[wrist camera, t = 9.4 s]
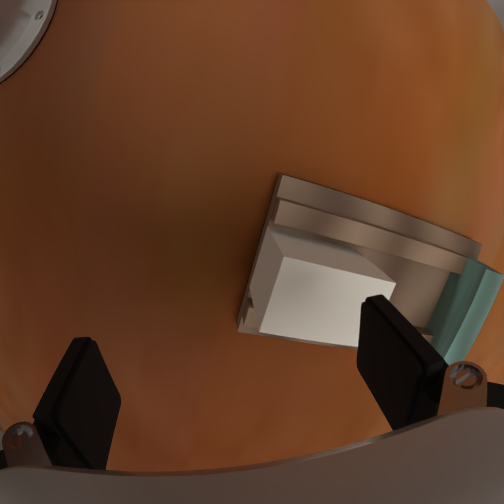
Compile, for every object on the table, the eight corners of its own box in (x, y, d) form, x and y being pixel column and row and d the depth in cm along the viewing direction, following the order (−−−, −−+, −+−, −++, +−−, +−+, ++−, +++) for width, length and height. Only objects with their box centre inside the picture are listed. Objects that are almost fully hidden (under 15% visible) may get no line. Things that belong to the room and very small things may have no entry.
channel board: (236, 321, 26) (240, 363, 20) (278, 172, 22) (296, 181, 17) (425, 347, 29) (452, 378, 24) (472, 240, 26) (510, 259, 20)
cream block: (249, 286, 23) (258, 331, 17) (267, 226, 22) (283, 256, 16) (336, 304, 24) (366, 348, 19) (357, 250, 23) (396, 283, 17)
